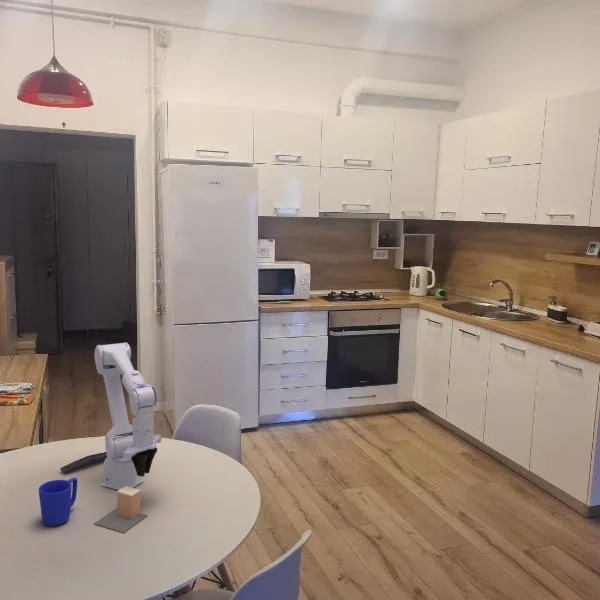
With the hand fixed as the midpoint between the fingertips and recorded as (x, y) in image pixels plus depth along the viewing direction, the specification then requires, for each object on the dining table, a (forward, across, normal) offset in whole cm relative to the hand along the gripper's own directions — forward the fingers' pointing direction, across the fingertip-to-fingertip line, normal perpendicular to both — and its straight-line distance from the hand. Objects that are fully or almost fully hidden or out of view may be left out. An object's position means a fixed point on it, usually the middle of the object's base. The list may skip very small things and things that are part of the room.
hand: (143, 474), depth 167 cm
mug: (+10, -16, +15) cm, 24 cm away
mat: (+9, -10, 0) cm, 13 cm away
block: (+9, -6, 0) cm, 11 cm away
